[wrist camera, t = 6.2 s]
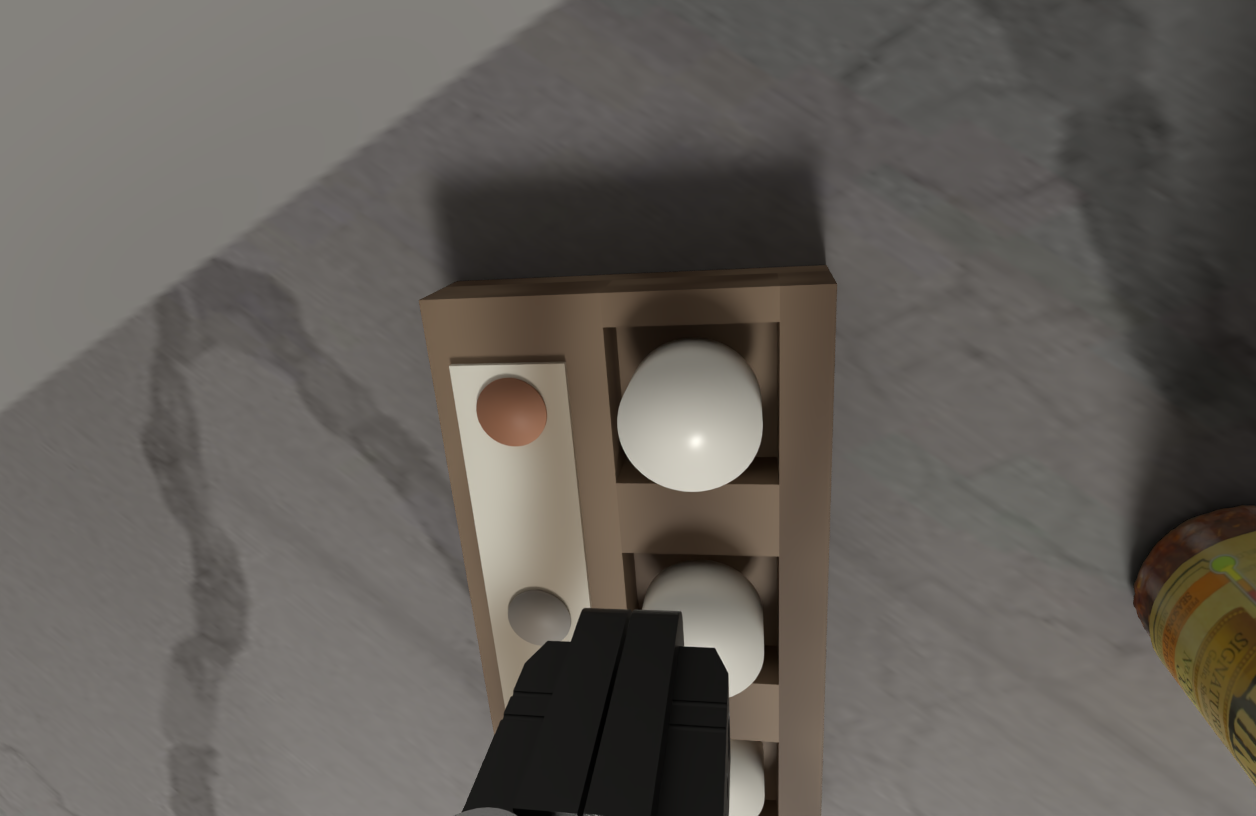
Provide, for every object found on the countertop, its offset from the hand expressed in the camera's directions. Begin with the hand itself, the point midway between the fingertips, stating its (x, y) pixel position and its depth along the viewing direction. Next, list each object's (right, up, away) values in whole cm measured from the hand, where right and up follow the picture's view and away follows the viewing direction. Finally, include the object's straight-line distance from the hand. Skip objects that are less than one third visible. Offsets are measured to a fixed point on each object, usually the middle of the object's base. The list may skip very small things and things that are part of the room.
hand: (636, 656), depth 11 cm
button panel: (+1, -2, +16) cm, 16 cm away
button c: (+2, +4, +11) cm, 11 cm away
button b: (+2, -3, +13) cm, 14 cm away
